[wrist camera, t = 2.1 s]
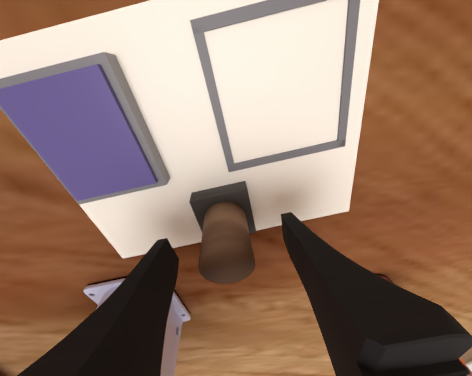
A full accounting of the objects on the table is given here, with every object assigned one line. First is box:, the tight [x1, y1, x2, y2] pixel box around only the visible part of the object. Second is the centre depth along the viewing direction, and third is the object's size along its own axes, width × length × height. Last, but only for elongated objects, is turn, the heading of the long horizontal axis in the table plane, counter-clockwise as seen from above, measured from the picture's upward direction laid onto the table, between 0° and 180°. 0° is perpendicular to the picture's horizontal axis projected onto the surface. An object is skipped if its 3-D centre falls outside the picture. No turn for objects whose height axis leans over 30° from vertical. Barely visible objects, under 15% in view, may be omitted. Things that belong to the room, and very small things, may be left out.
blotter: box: [0, 0, 379, 258], centre depth 12 cm, size 15×20×1 cm
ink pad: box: [0, 52, 170, 204], centre depth 10 cm, size 7×6×1 cm
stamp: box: [189, 181, 256, 284], centre depth 12 cm, size 4×4×5 cm
